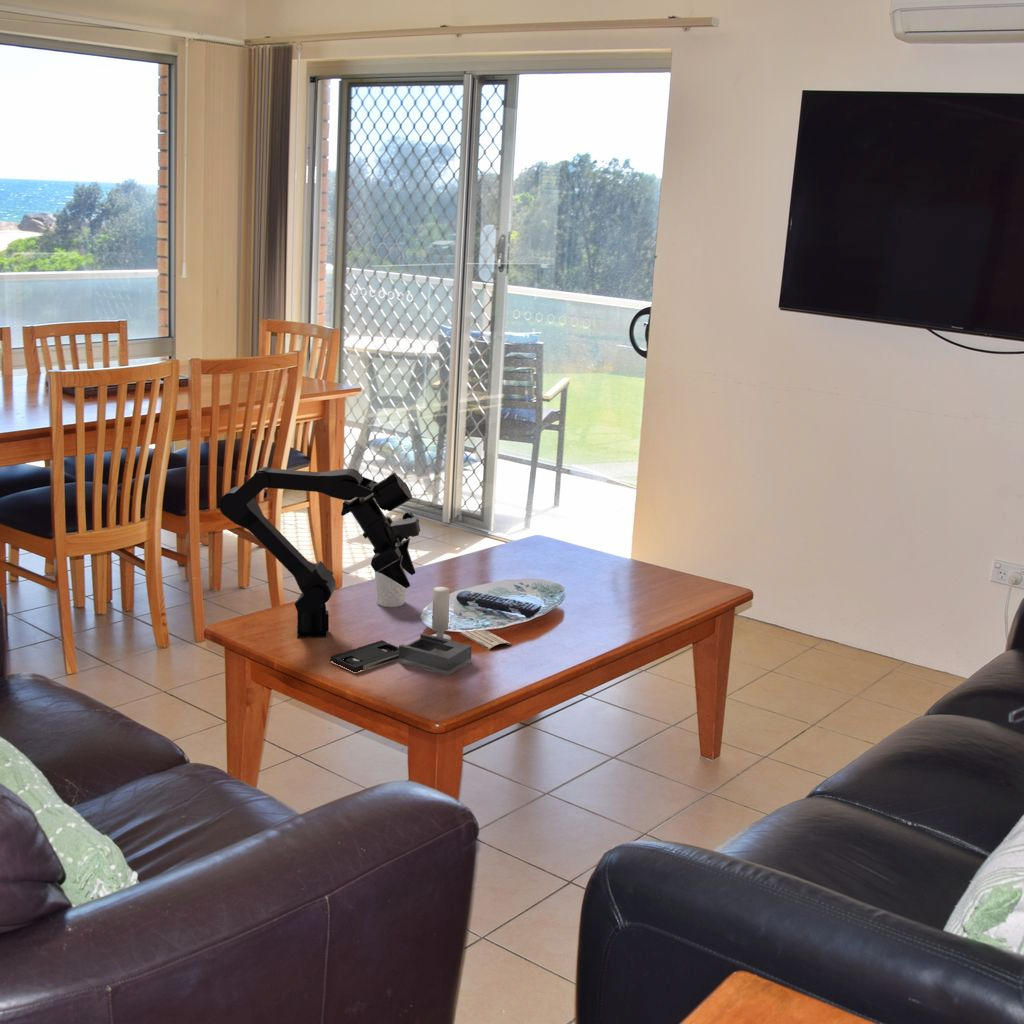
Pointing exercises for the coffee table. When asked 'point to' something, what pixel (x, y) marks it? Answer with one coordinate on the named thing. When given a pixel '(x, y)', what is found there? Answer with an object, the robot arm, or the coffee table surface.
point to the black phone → (367, 656)
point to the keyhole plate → (435, 654)
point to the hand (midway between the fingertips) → (411, 580)
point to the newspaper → (484, 638)
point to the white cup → (389, 591)
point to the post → (440, 612)
